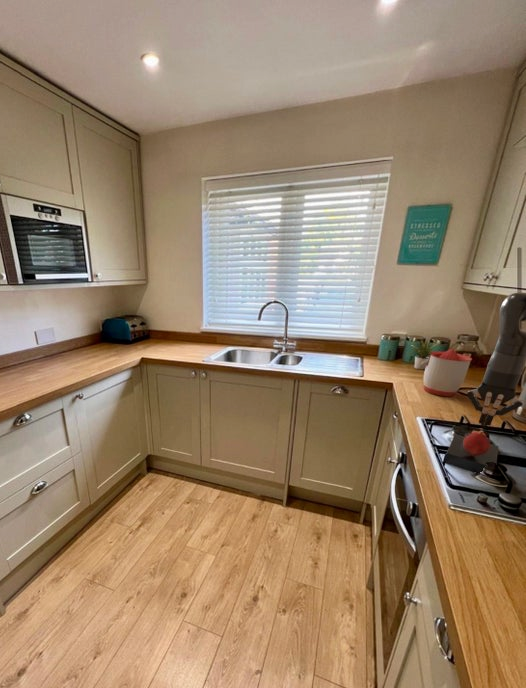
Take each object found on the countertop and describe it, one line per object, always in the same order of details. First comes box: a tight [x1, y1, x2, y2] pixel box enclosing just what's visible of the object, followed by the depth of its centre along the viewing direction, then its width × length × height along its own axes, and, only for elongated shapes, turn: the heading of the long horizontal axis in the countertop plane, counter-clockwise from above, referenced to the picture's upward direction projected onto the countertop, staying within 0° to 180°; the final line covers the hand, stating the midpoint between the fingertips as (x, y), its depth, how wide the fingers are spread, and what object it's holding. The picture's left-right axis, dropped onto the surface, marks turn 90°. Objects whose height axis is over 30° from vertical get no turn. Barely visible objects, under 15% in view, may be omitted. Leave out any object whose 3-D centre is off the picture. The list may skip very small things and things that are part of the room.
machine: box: [443, 432, 500, 474], centre depth 96 cm, size 16×11×5 cm, turn 139°
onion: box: [463, 430, 491, 456], centre depth 91 cm, size 6×6×8 cm
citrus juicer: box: [422, 348, 473, 397], centre depth 146 cm, size 16×17×20 cm
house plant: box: [410, 339, 440, 370], centre depth 182 cm, size 14×14×16 cm
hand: (483, 425), depth 97 cm, fingers closed
